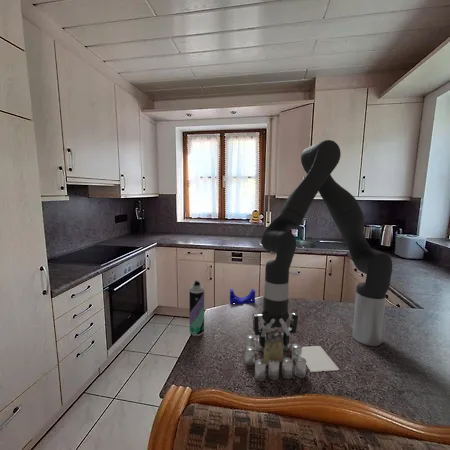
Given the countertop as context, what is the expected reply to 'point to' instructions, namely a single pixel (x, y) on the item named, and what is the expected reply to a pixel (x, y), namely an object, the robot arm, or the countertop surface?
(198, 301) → the spray can
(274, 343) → the cream metal oval canister
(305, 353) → the tile
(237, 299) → the cable clip
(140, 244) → the countertop surface
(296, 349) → the spacers
